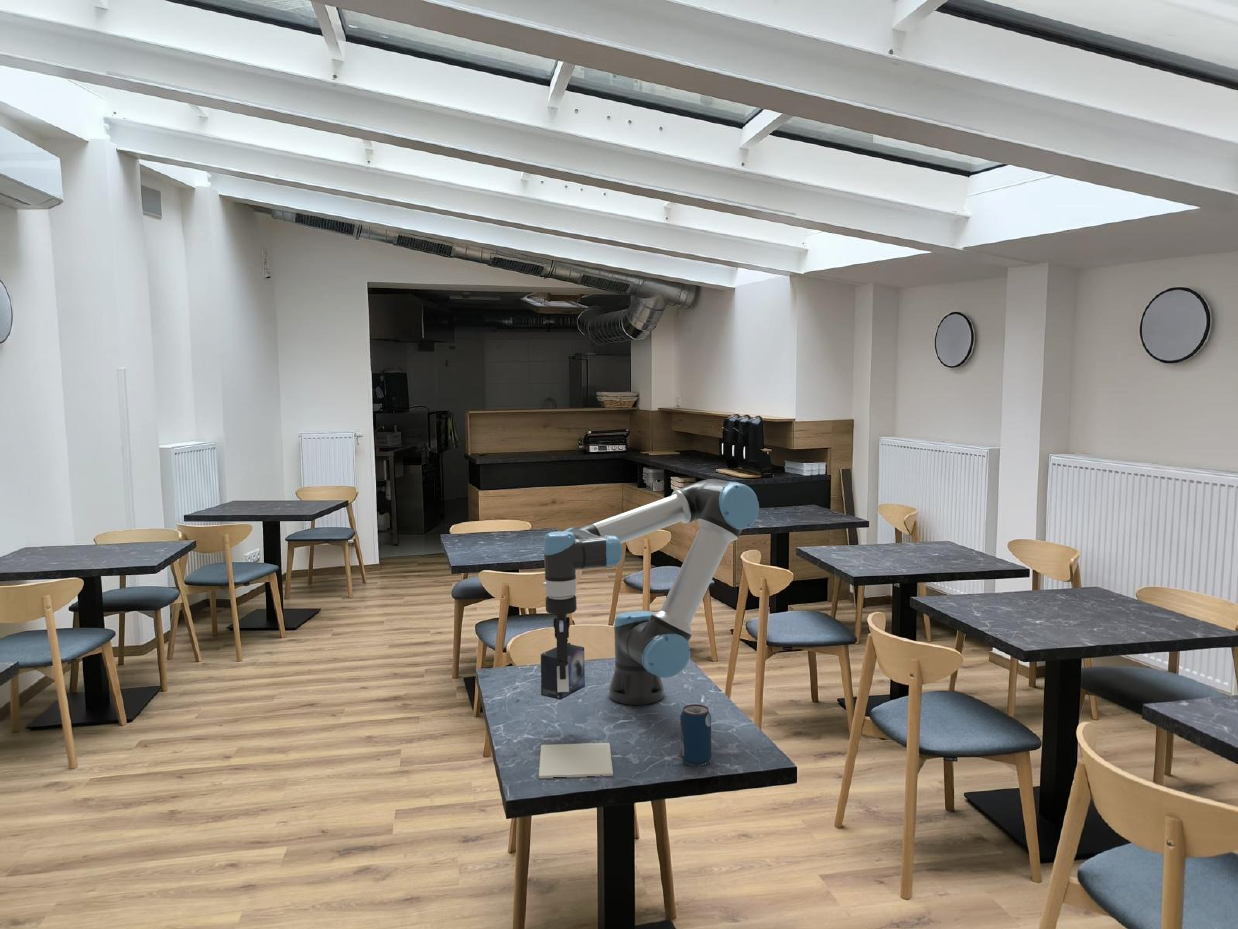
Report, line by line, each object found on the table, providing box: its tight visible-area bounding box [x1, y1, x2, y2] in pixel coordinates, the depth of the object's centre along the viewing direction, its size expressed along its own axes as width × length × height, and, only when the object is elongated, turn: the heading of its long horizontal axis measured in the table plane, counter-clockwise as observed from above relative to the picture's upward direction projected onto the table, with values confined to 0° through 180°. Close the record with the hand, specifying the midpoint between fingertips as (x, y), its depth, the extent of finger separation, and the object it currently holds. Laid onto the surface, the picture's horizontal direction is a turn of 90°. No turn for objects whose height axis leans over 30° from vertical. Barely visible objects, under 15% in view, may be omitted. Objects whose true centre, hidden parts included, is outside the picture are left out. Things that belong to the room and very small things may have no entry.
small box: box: [540, 643, 586, 700], centre depth 205 cm, size 11×6×10 cm, turn 148°
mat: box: [538, 742, 614, 779], centre depth 189 cm, size 16×16×1 cm
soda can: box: [679, 704, 712, 766], centre depth 188 cm, size 7×7×12 cm
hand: (563, 682), depth 206 cm, fingers closed on small box, 12 cm apart
